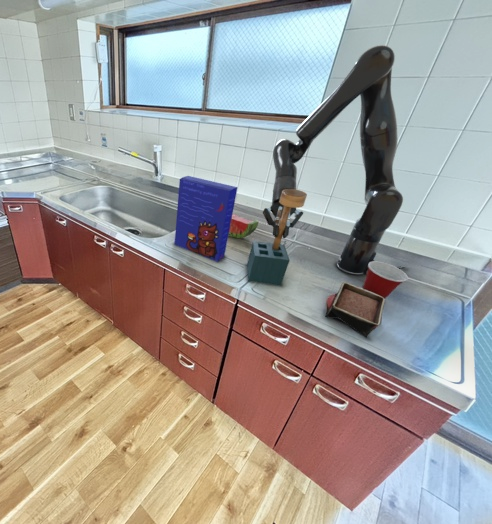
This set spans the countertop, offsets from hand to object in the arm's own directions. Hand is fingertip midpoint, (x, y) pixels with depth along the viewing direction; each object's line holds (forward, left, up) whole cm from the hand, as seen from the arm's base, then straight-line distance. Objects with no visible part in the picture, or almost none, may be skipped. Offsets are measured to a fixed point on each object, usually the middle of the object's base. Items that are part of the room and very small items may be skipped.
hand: (280, 236), depth 100 cm
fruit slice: (+16, -34, -17) cm, 41 cm away
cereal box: (+28, -13, -17) cm, 35 cm away
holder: (+2, 0, -17) cm, 17 cm away
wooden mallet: (0, 0, -16) cm, 16 cm away
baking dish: (-22, +18, -17) cm, 33 cm away
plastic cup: (-33, +5, -17) cm, 37 cm away
